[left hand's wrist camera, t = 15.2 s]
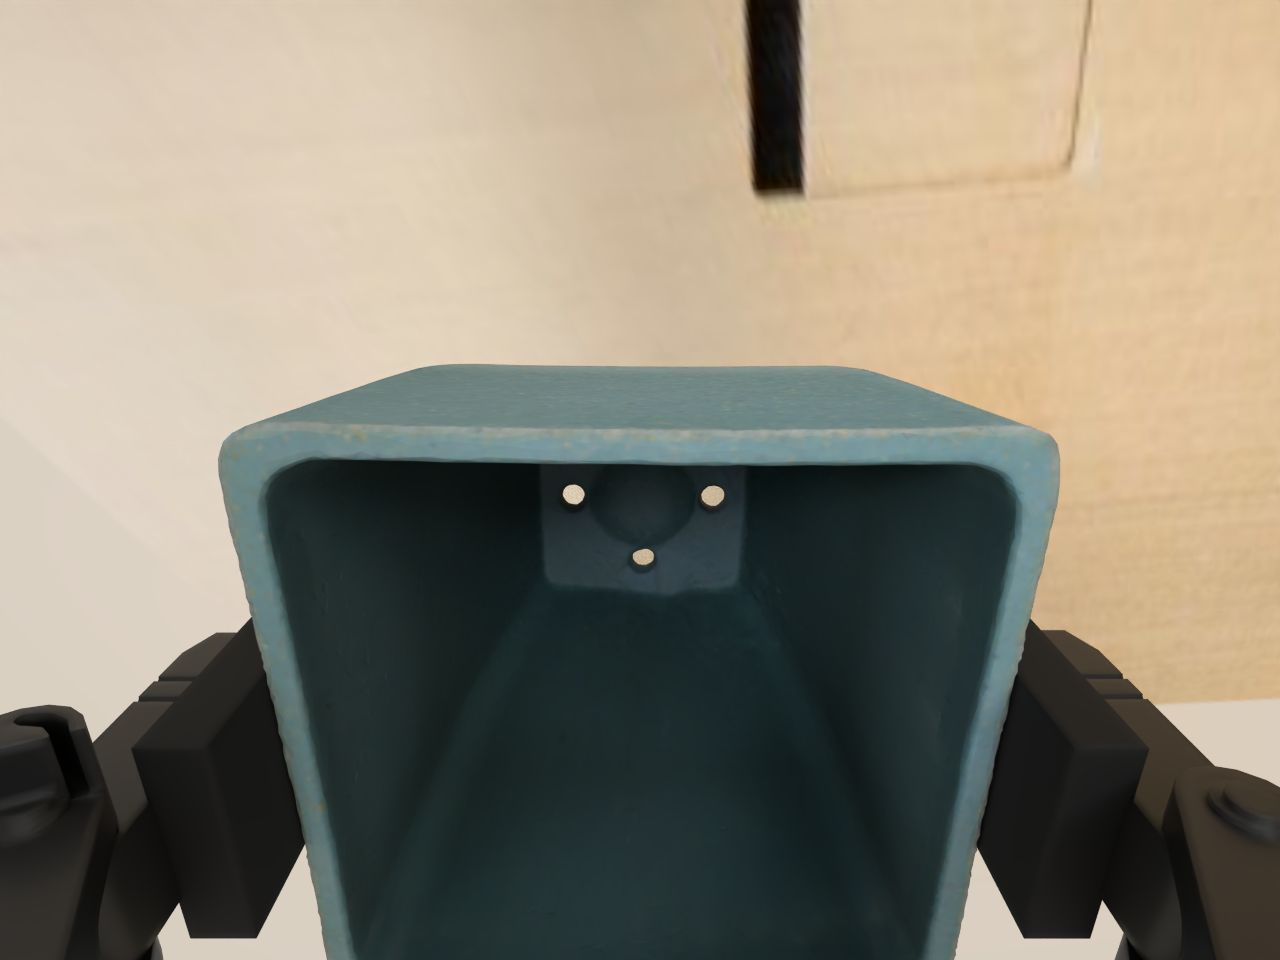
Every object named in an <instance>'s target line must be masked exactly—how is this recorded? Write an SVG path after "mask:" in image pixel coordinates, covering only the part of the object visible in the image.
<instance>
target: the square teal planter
mask: <svg viewBox="0 0 1280 960" xmlns="http://www.w3.org/2000/svg"><path fill="white" fill-rule="evenodd" d="M218 467H219V478H220V482H221V487H222V491H223V496H224V503H225V508H226V512H227V516H228V522H229V528H230V532H231V536H232V539H233V543H234V547H235V549H236V552H237V555H238V559H239V567H240V571H241V575H242V578H243V581H244V586H245V592H246V598H247V600H248V603H249V608H250V614H251V616H252V620H253V624H254V629H255V634H256V639H257V642H258V646H259V649H260V652H261V655H262V660H263V662H264V666H263V668H264V670H265V672H266V675H267V684H268V687H269V690H270V697H271V699H272V701H273V704H274V708H275V714H276V718H277V722H278V733H279V735H280V737H281V740H282V742H283V753H284V757H285V761H286V764H287V768H288V773H289V777H290V779H291V783H292V786H293V790H294V794H295V799H296V805H297V810H298V814H299V817H300V821H301V825H302V833H303V837H304V841H305V845H306V849H307V859H308V865H309V867H310V871H311V879H312V883H313V886H314V889H315V895H316V899H317V905H318V913H319V915H320V918H321V926H322V936H323V942H324V947H325V951H326V956H327V960H954V957H955V956H956V952H955V950H956V948H957V942H958V937H959V934H960V929H961V922H962V919H963V917H964V908H965V903H966V900H967V896H968V888H969V883H970V877H971V869H972V866H973V861H974V856H975V853H976V851H977V844H976V842H977V840H978V838H979V836H980V826H981V820H982V818H983V815H984V812H985V806H986V804H987V797H988V791H989V786H990V783H991V780H992V777H993V768H994V760H995V756H996V753H997V749H998V745H999V741H1000V736H1001V732H1002V731H1003V724H1004V722H1005V720H1006V716H1007V713H1008V707H1009V698H1010V694H1011V691H1012V688H1013V684H1014V679H1015V676H1016V674H1017V671H1018V663H1019V661H1020V660H1021V659H1022V652H1023V650H1024V642H1025V631H1026V628H1027V625H1028V623H1029V620H1030V617H1031V612H1032V607H1033V603H1034V598H1035V594H1036V589H1037V584H1038V580H1039V577H1040V574H1041V572H1042V568H1043V564H1044V558H1045V553H1046V550H1047V546H1048V541H1049V534H1050V530H1051V527H1052V523H1053V519H1054V514H1055V510H1056V507H1057V502H1058V494H1059V483H1060V456H1059V450H1058V445H1057V443H1056V441H1055V440H1054V439H1053V437H1052V436H1051V435H1050V434H1048V433H1045V432H1042V431H1040V430H1037V429H1035V428H1033V427H1030V426H1026V425H1023V424H1021V423H1018V422H1015V421H1013V420H1010V419H1007V418H1004V417H1001V416H999V415H996V414H993V413H990V412H988V411H985V410H982V409H979V408H976V407H974V406H971V405H968V404H965V403H963V402H960V401H957V400H954V399H952V398H949V397H946V396H943V395H941V394H938V393H935V392H932V391H929V390H926V389H924V388H921V387H919V386H916V385H913V384H910V383H907V382H904V381H901V380H897V379H894V378H891V377H888V376H885V375H882V374H879V373H875V372H871V371H868V370H864V369H856V368H849V367H839V366H758V367H617V366H532V365H492V364H451V365H437V366H429V367H424V368H418V369H414V370H411V371H408V372H404V373H401V374H397V375H394V376H391V377H388V378H385V379H381V380H378V381H375V382H372V383H369V384H367V385H364V386H361V387H358V388H355V389H352V390H349V391H346V392H343V393H340V394H337V395H334V396H331V397H328V398H325V399H322V400H320V401H317V402H314V403H311V404H308V405H306V406H303V407H300V408H297V409H294V410H291V411H288V412H285V413H282V414H279V415H276V416H274V417H271V418H268V419H265V420H262V421H259V422H256V423H253V424H251V425H248V426H245V427H243V428H241V429H239V430H237V431H235V432H233V433H232V434H231V435H230V436H229V437H228V438H227V439H226V440H225V441H224V442H223V444H222V447H221V450H220V454H219V458H218ZM569 485H578V486H580V487H581V488H582V489H583V490H584V493H585V496H584V498H583V501H581V502H580V503H579V504H570V503H568V502H567V501H566V500H565V498H564V497H563V491H564V489H565V487H567V486H569ZM708 486H718V487H720V488H722V489H723V491H724V499H723V500H722V501H721V502H720V503H719V504H718V505H716V506H710V505H707V504H706V503H705V502H704V501H703V500H702V497H701V494H702V492H703V490H704V489H705V488H707V487H708ZM642 549H649V550H651V551H652V552H653V554H654V559H653V561H652V562H651V563H649V564H647V565H639V564H637V563H636V562H635V561H634V560H633V553H634V552H636V551H638V550H642Z"/></svg>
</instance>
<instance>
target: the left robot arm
mask: <svg viewBox="0 0 1280 960" xmlns="http://www.w3.org/2000/svg"><path fill="white" fill-rule="evenodd" d="M263 666H264V662H263V660H262V655H261V652H260V649H259V646H258V642H257V639H256V634H255V629H254V624H253V620H252V617H251V618H250V619H249V620H248V621H247V623H246V624H245V625H244V626H243V627H242V628H241V629H240V630H239V631H238V632H237V633H215V634H214V635H212V636H210V637H208V638H207V639H205V640H203V641H202V642H200V643H198V644H197V645H195V646H193V647H192V648H190V649H188V650H186V651H185V652H183V653H182V654H181V655H180V656H179V657H178V658H177V659H176V660H175V661H174V662H173V663H172V664H171V665H170V666H169V667H168V668H167V669H166V670H165V671H164V672H163V673H162V674H161V675H160V676H159V680H158V681H154V682H153V683H152V684H151V685H150V686H149V687H148V688H147V689H146V690H145V691H144V692H143V693H142V694H141V695H140V696H139V700H138V702H133V703H132V704H131V705H130V706H129V707H128V708H127V709H126V710H125V711H124V712H123V713H122V714H121V715H120V716H119V717H118V718H117V719H116V720H115V721H114V722H113V723H112V724H111V725H110V726H109V727H108V728H107V729H106V730H105V731H104V732H103V733H102V734H101V735H100V736H99V737H98V738H97V739H96V740H95V741H94V742H93V743H92V740H91V737H90V734H89V731H88V728H87V725H86V722H85V720H84V717H83V715H82V714H81V713H79V712H78V711H76V710H75V709H73V708H72V707H67V706H56V705H44V706H37V707H30V708H23V709H18V710H15V711H12V712H9V713H5V714H2V715H0V960H163V955H162V949H161V946H160V943H159V940H158V937H157V935H158V934H159V932H160V931H161V929H162V928H163V926H164V925H165V923H166V922H167V920H168V918H169V917H170V915H171V914H172V912H173V911H174V909H175V908H176V906H177V905H178V903H180V907H181V910H182V913H183V916H184V919H185V923H186V926H187V929H188V932H189V935H190V938H257V936H258V934H259V932H260V930H261V928H262V927H263V925H264V923H265V921H266V919H267V917H268V915H269V913H270V911H271V909H272V907H273V905H274V903H275V901H276V899H277V897H278V896H279V894H280V892H281V890H282V888H283V886H284V884H285V882H286V880H287V878H288V876H289V874H290V872H291V870H292V868H293V866H294V864H295V863H296V861H297V859H298V857H299V855H300V853H301V851H302V849H303V847H304V845H305V841H304V837H303V833H302V825H301V821H300V817H299V814H298V810H297V805H296V799H295V794H294V790H293V786H292V783H291V779H290V777H289V773H288V768H287V764H286V761H285V757H284V753H283V742H282V740H281V737H280V735H279V733H278V722H277V718H276V714H275V708H274V704H273V701H272V699H271V697H270V690H269V687H268V684H267V675H266V672H265V670H264V668H263ZM976 844H977V848H978V850H979V852H980V854H981V856H982V858H983V860H984V862H985V864H986V865H987V867H988V869H989V871H990V873H991V875H992V877H993V879H994V881H995V883H996V885H997V887H998V889H999V891H1000V893H1001V895H1002V897H1003V899H1004V900H1005V902H1006V904H1007V906H1008V908H1009V910H1010V912H1011V914H1012V916H1013V918H1014V920H1015V922H1016V924H1017V926H1018V928H1019V930H1020V932H1021V933H1022V935H1023V937H1024V938H1083V939H1088V938H1090V937H1091V934H1092V931H1093V928H1094V924H1095V921H1096V918H1097V915H1098V911H1099V908H1100V905H1101V902H1102V900H1103V902H1104V903H1105V905H1106V906H1107V908H1108V909H1109V911H1110V912H1111V914H1112V915H1113V917H1114V918H1115V920H1116V921H1117V923H1118V925H1119V926H1120V928H1121V929H1122V931H1123V932H1124V934H1123V937H1122V940H1121V943H1120V946H1119V949H1118V952H1117V954H1116V957H1115V960H1280V787H1278V786H1276V785H1274V784H1273V783H1271V782H1269V781H1267V780H1264V779H1261V778H1259V777H1256V776H1253V775H1250V774H1247V773H1244V772H1242V771H1239V770H1235V769H1228V768H1223V767H1216V766H1214V765H1213V764H1212V763H1211V762H1210V761H1209V760H1208V759H1207V758H1206V757H1205V756H1204V755H1203V754H1202V753H1201V752H1200V751H1199V750H1198V749H1197V748H1196V747H1195V746H1194V745H1193V744H1192V743H1191V742H1190V741H1189V740H1188V739H1187V738H1186V737H1185V736H1184V735H1183V734H1182V733H1181V732H1180V731H1179V730H1178V729H1177V728H1176V727H1175V726H1174V725H1173V724H1172V723H1171V722H1170V721H1169V720H1168V719H1167V718H1166V717H1165V716H1164V715H1163V714H1162V713H1161V712H1160V711H1159V710H1158V709H1157V708H1156V707H1155V706H1154V705H1153V704H1152V703H1151V702H1150V701H1149V700H1148V699H1143V697H1142V693H1141V692H1140V691H1139V690H1138V689H1137V688H1136V687H1135V686H1134V685H1133V684H1132V683H1131V682H1130V681H1129V680H1128V679H1123V674H1122V673H1121V672H1120V671H1119V670H1118V669H1117V668H1116V667H1115V666H1114V665H1113V664H1112V663H1111V662H1110V661H1109V660H1108V659H1107V658H1106V657H1105V656H1104V655H1103V654H1102V653H1101V652H1100V651H1099V650H1097V649H1095V648H1094V647H1092V646H1090V645H1089V644H1087V643H1085V642H1084V641H1082V640H1080V639H1078V638H1077V637H1075V636H1073V635H1072V634H1070V633H1068V632H1067V631H1065V630H1040V629H1039V628H1038V626H1037V625H1036V624H1035V623H1034V622H1033V621H1032V620H1031V619H1030V620H1029V623H1028V625H1027V628H1026V631H1025V642H1024V650H1023V652H1022V659H1021V660H1020V661H1019V663H1018V671H1017V674H1016V676H1015V679H1014V684H1013V688H1012V691H1011V694H1010V698H1009V707H1008V713H1007V716H1006V720H1005V722H1004V724H1003V731H1002V732H1001V736H1000V741H999V745H998V749H997V753H996V756H995V760H994V768H993V777H992V780H991V783H990V786H989V791H988V797H987V804H986V806H985V812H984V815H983V818H982V820H981V826H980V836H979V838H978V840H977V842H976Z"/></svg>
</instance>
